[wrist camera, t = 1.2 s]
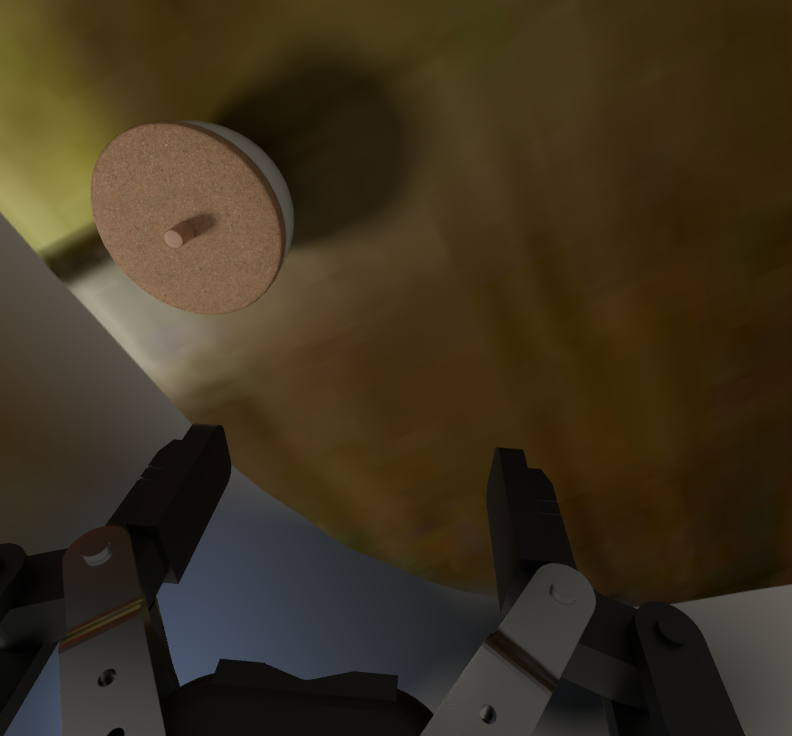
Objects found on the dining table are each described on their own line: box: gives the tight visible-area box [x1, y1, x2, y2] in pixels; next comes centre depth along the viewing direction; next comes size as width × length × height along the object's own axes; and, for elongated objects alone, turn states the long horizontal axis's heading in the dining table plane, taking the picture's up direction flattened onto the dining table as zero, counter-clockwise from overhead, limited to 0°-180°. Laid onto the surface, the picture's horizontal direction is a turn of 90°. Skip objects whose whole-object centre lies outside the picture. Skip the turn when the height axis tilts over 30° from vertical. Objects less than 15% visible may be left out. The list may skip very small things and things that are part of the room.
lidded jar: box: [91, 120, 294, 315], centre depth 28 cm, size 11×11×9 cm
